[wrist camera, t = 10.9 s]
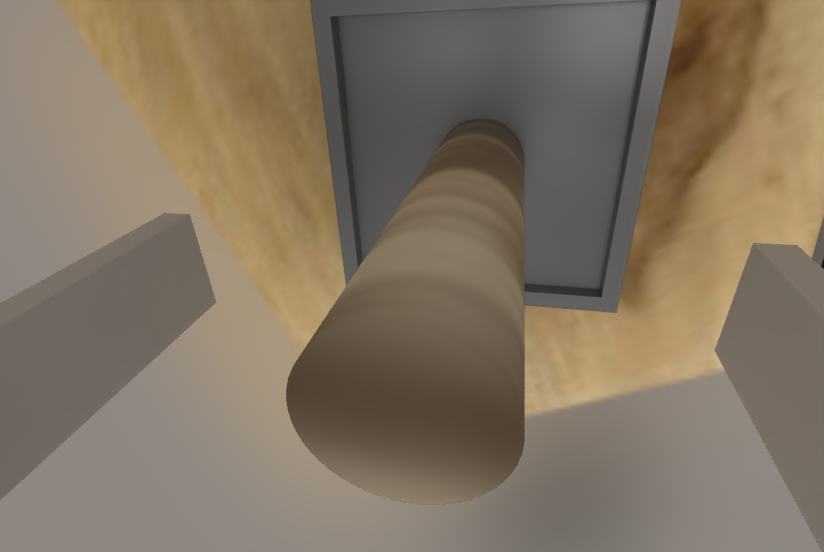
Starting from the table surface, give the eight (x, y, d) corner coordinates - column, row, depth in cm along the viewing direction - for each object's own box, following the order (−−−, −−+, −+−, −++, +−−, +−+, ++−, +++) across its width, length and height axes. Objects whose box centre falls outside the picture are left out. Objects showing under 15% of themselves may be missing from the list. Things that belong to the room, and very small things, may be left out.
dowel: (436, 118, 21) (265, 313, 7) (528, 118, 20) (535, 338, 6) (437, 203, 23) (305, 485, 9) (520, 205, 22) (515, 521, 8)
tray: (322, -4, 20) (309, -5, 19) (676, -26, 17) (687, -30, 16) (355, 278, 27) (346, 290, 25) (612, 298, 24) (616, 312, 22)
